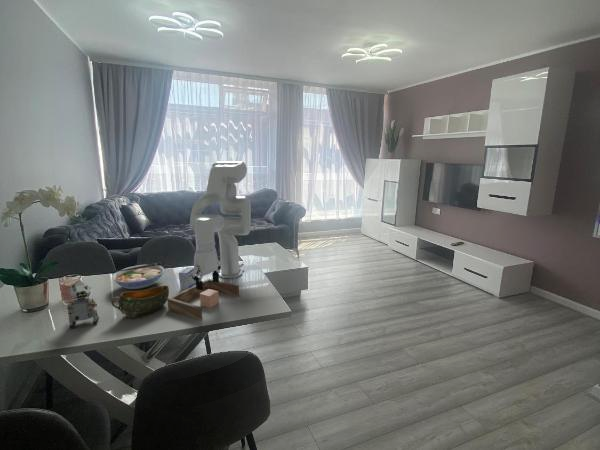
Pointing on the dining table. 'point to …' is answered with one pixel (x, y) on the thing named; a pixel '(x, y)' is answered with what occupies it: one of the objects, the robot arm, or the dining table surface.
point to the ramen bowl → (138, 276)
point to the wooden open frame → (180, 299)
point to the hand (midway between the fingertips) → (208, 285)
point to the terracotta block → (209, 298)
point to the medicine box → (186, 278)
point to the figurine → (81, 305)
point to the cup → (142, 301)
